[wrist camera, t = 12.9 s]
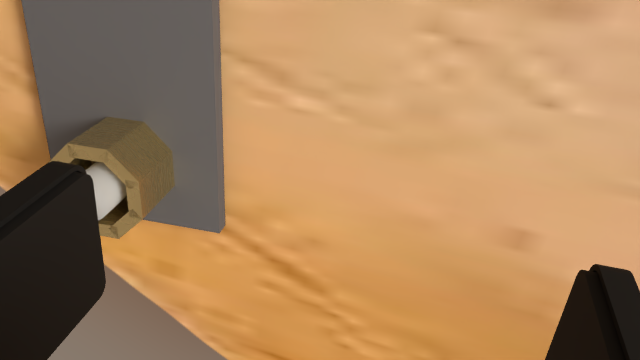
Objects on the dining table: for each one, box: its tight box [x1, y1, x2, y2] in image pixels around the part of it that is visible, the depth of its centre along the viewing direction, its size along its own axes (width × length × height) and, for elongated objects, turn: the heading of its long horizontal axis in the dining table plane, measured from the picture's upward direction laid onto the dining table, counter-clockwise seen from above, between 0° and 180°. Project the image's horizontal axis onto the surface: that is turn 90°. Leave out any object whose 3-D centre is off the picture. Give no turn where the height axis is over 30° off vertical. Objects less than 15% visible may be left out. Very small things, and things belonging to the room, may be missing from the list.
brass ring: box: [50, 117, 175, 239], centre depth 42 cm, size 7×7×5 cm
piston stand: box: [21, 0, 225, 233], centre depth 40 cm, size 20×14×7 cm
